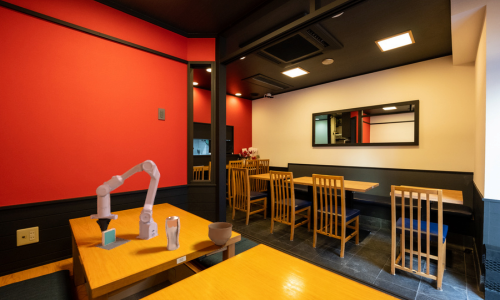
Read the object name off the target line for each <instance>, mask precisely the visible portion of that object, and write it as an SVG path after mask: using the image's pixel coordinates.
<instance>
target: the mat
mask: <svg viewBox="0 0 500 300" xmlns="http://www.w3.org/2000/svg"><path fill="white" fill-rule="evenodd" d="M131 241H132V240H131V239H130V240H129V239H127V238H126V239H125V238H122V237H116V236H115V242H113V243H110V244H108V245H105V246H102V242H101V243H99V244H97V245H96V244H95V245H94V247H95V248H100V249H103V250H107V251H110V250H113V249H115V248H117V247H120V246H122V245H124V244H126V243H129V242H131Z"/></svg>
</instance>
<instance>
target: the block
mask: <svg viewBox="0 0 500 300" xmlns="http://www.w3.org/2000/svg"><path fill="white" fill-rule="evenodd" d="M115 238H116V228H114V227H112V228H111V229H107V230H106V231H103V232H101V243H102V246H105V245H108V244H110V243H113V242H115Z"/></svg>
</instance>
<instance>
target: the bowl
mask: <svg viewBox="0 0 500 300" xmlns="http://www.w3.org/2000/svg"><path fill="white" fill-rule="evenodd" d="M232 227H233V223H229V222H225V221H224V222H223V221H222V222H219V221H217V222H212V223H209V224H208V228H207V229H208V231H207V232H208V233H207V234H208V238H209V240H210V241H211V242H212V243H214V245H216V246H223V245H225V244H226V243H227V242H228V241H229V240H230V239H231V237H232V234H233V233H232V232H233V228H232Z"/></svg>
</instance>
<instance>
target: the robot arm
mask: <svg viewBox="0 0 500 300" xmlns="http://www.w3.org/2000/svg"><path fill="white" fill-rule="evenodd" d="M143 171H144V172H145V173H147V174H148V175H149V177H150V180H149V181H150V182H149V185H148V189H147V194H146V198H145V202H144V204H143V209H142V210H141V211H140V215H139V216H138V217H139V222H138V225H139V231H138V232H139V235H137V236H136V237H135V238H136V239H142V240H145V241H148V240H150V239H153V238H155V237H157V236H159V235H160V234H159V233H158V223H157V222H155V221H154V218H153V206H154V202H155V197H156V195H157V190H158V185H159V181H160V178H161V174H160V171H159V169H158V166H157V165H156V163H155V162H154V161H153V160H150V159H146V160H145V161H142V162H141V163H138V164H136V165H134V166H133V167H131V168H130V169H128V170H127V171H125V172H124V173H123V174H121V175H113V176H111V179H109V180H107V181H104V182H103V184H101V185H99V186H98V187H97V188H96V190H95V193H96V195H97V197H96V198H97V199H96V200H97V201H96V202H97V203H96V204H97V206H96V207H97V209H96V210H97V214H95V213H94V214H91V215H89V216H90V220H93V219H97V220H96V221H95V222H96V224H97V226H98V227H99V229H100V232H101V233H102V232H103V231H106V230H108V227H109V225H110V223H111V221H112V220H117V219H118V217H119V216H118V214H112V213H111V194H110V193H111V192H112V191H114V190H116V189H117V188H119V187H120V186H122V185H124V182H125V180H126V179H128V178H130V177H132V176H133V175H134V174H136V173H140V172H143Z"/></svg>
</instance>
